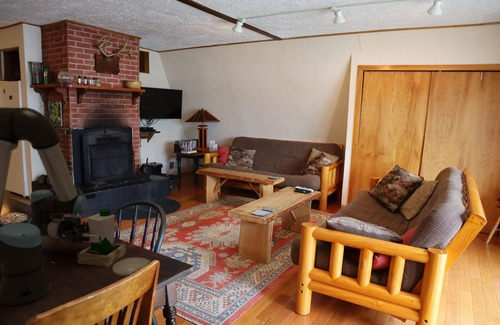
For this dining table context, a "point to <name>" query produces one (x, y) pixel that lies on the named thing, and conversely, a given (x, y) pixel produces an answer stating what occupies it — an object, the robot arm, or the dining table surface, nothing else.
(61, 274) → the dining table surface
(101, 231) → the soya milk
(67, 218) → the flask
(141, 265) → the pad
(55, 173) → the robot arm
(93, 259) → the shallow beige tray
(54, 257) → the dining table surface
